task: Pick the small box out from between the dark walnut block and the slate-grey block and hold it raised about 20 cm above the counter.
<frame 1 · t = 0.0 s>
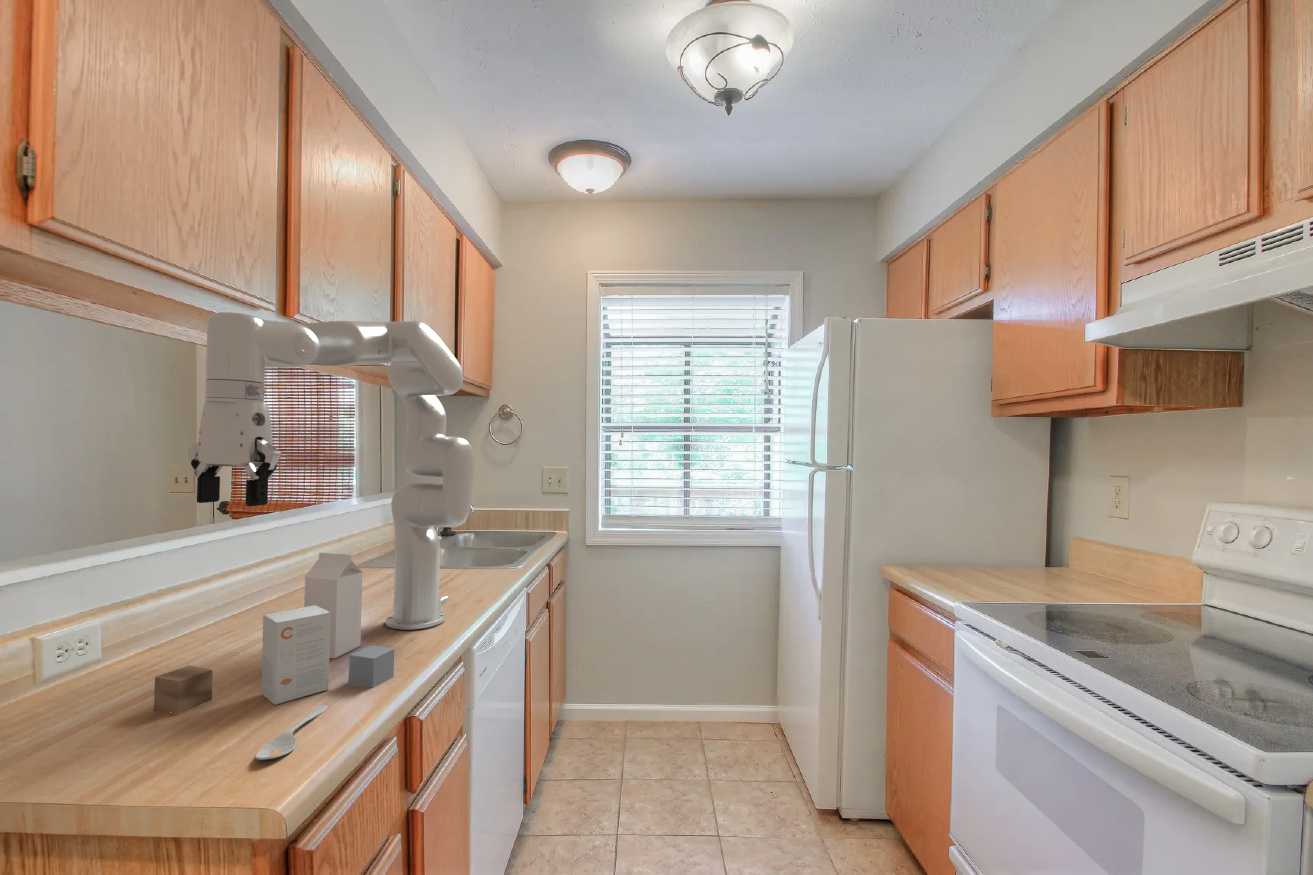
hand: (232, 503, 93), 31 cm above the worktop, tool pointing down, fingers open, 9 cm apart
walnut block: (183, 705, 92), on the worktop
milk carton: (332, 652, 116), on the worktop
slate block: (371, 680, 103), on the worktop
spoon: (301, 732, 86), on the worktop
small box: (295, 693, 98), on the worktop
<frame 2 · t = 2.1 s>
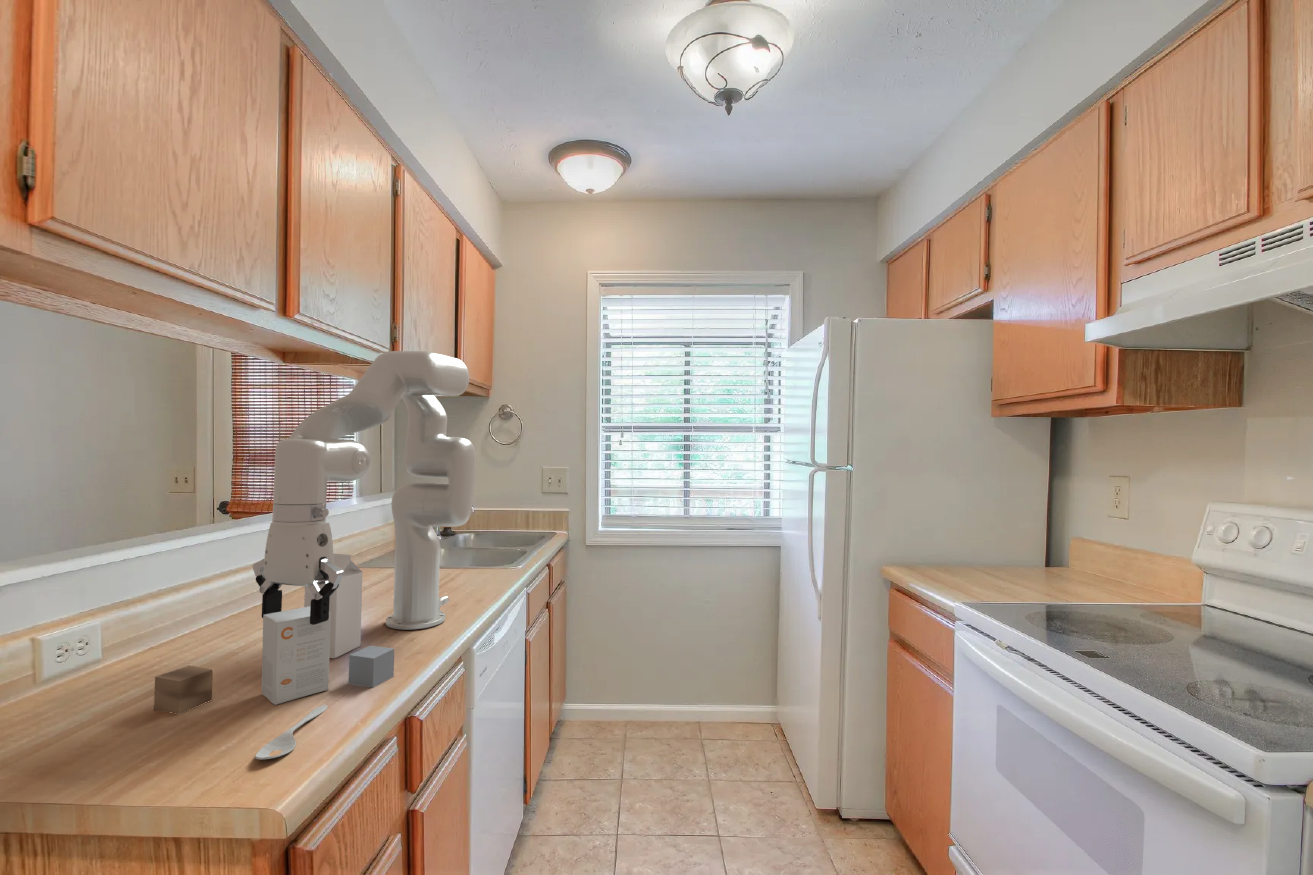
hand: (295, 619, 97), 12 cm above the worktop, tool pointing down, fingers open, 9 cm apart
nothing on the worktop moved.
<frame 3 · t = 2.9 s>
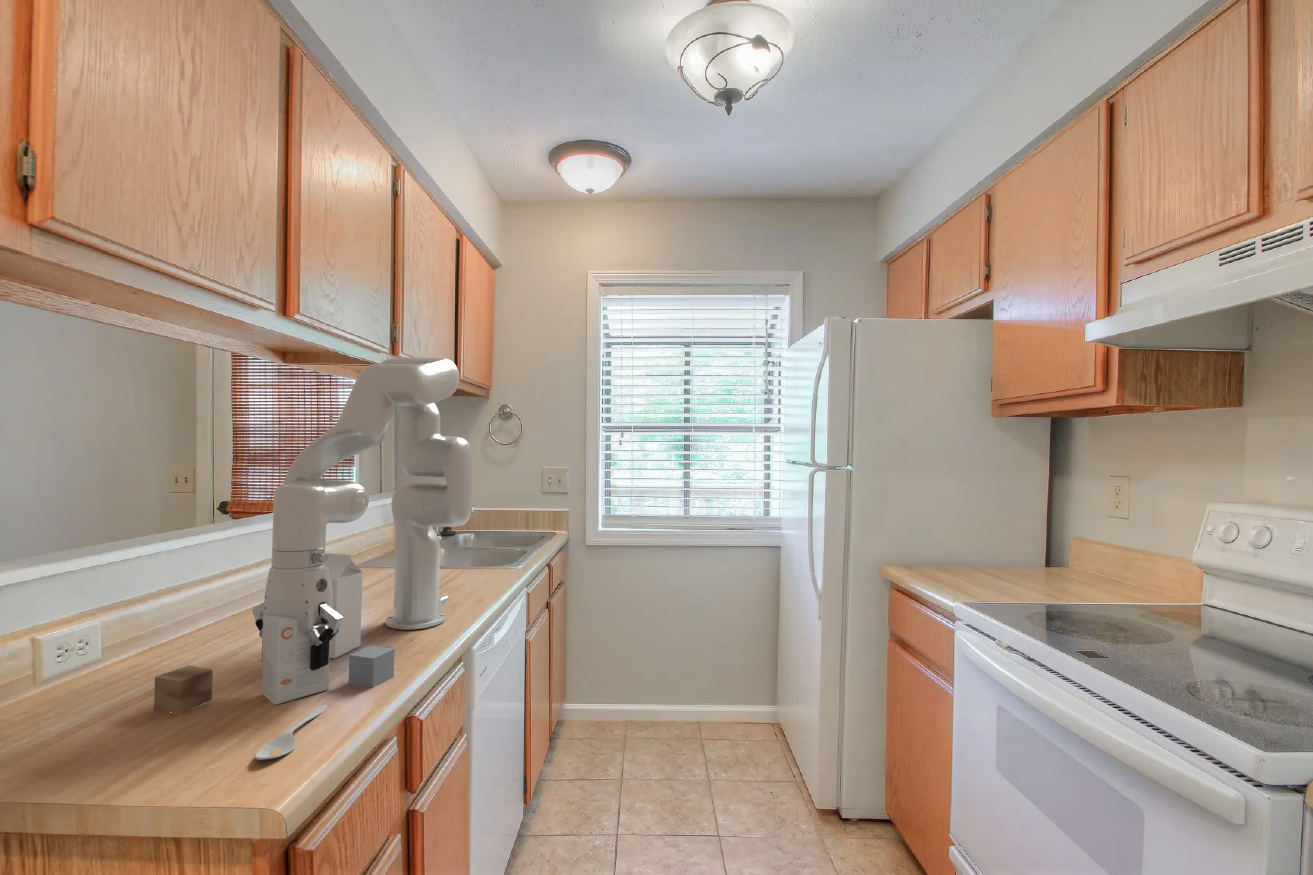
hand: (295, 663, 97), 5 cm above the worktop, tool pointing down, fingers open, 9 cm apart
nothing on the worktop moved.
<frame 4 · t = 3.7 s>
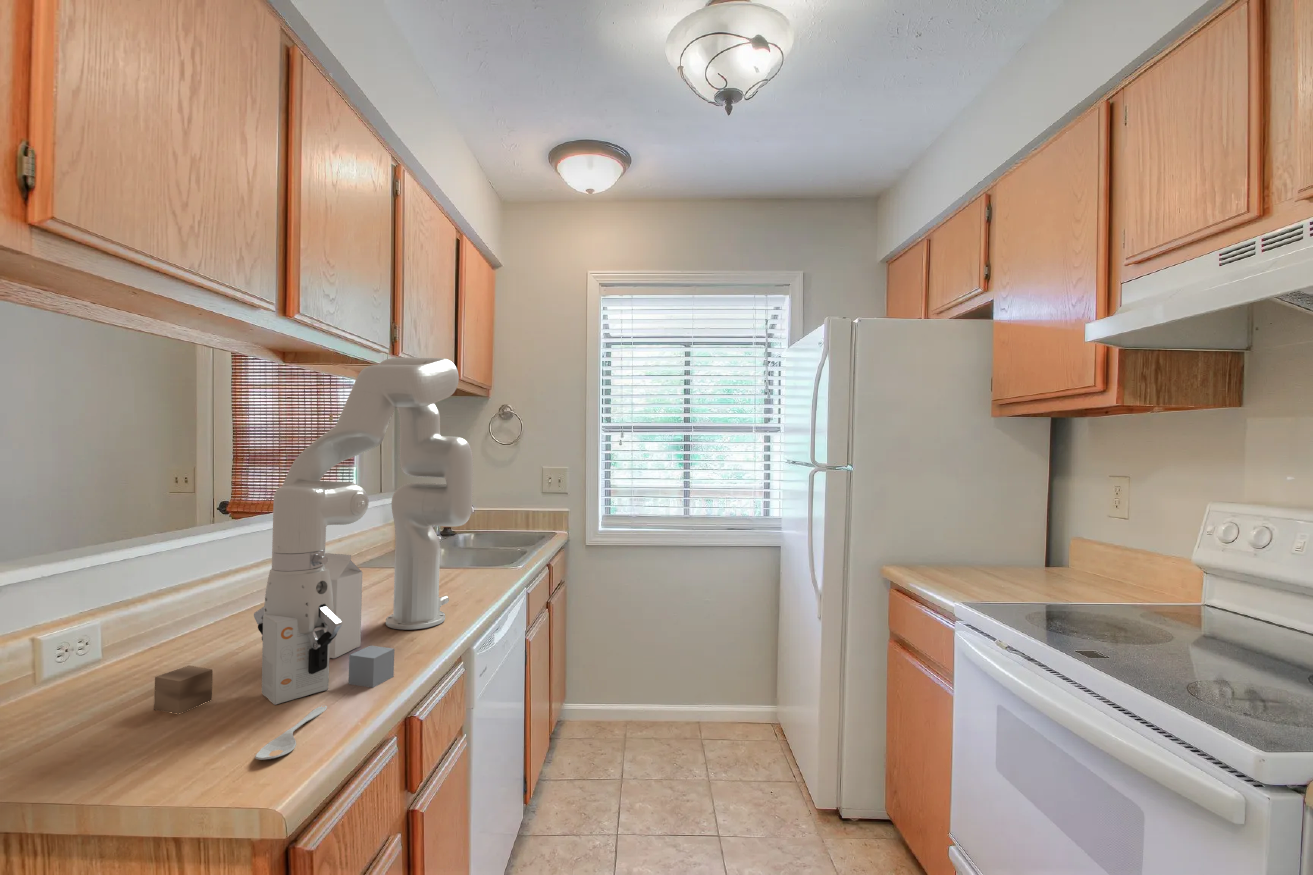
hand: (295, 667, 98), 4 cm above the worktop, tool pointing down, fingers closed on small box, 8 cm apart
small box: (295, 693, 98), on the worktop, touching gripper
everything else where it was.
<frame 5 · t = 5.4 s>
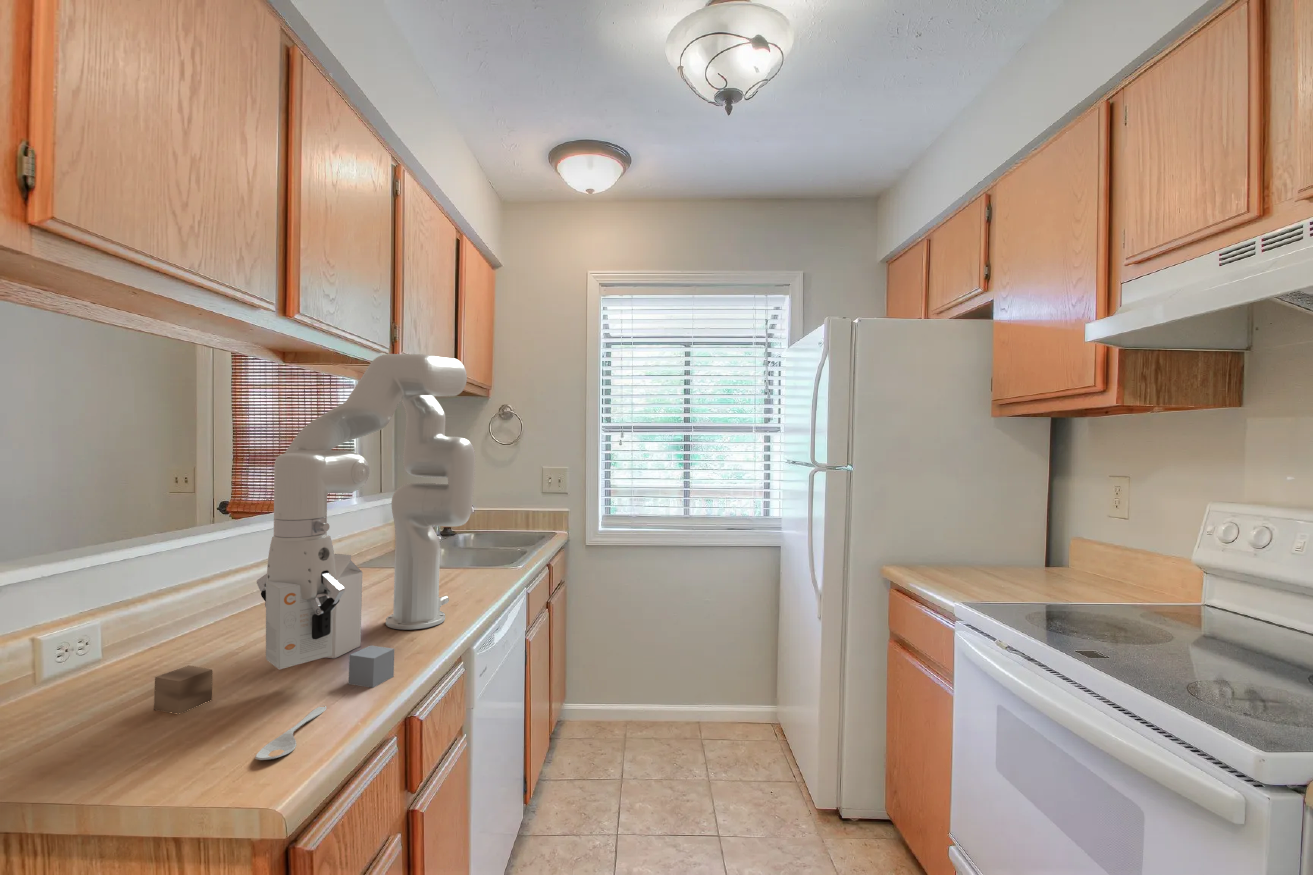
hand: (299, 633, 98), 9 cm above the worktop, tool pointing down, fingers closed on small box, 8 cm apart
small box: (298, 659, 98), point 5 cm above the worktop, touching gripper
everything else where it was.
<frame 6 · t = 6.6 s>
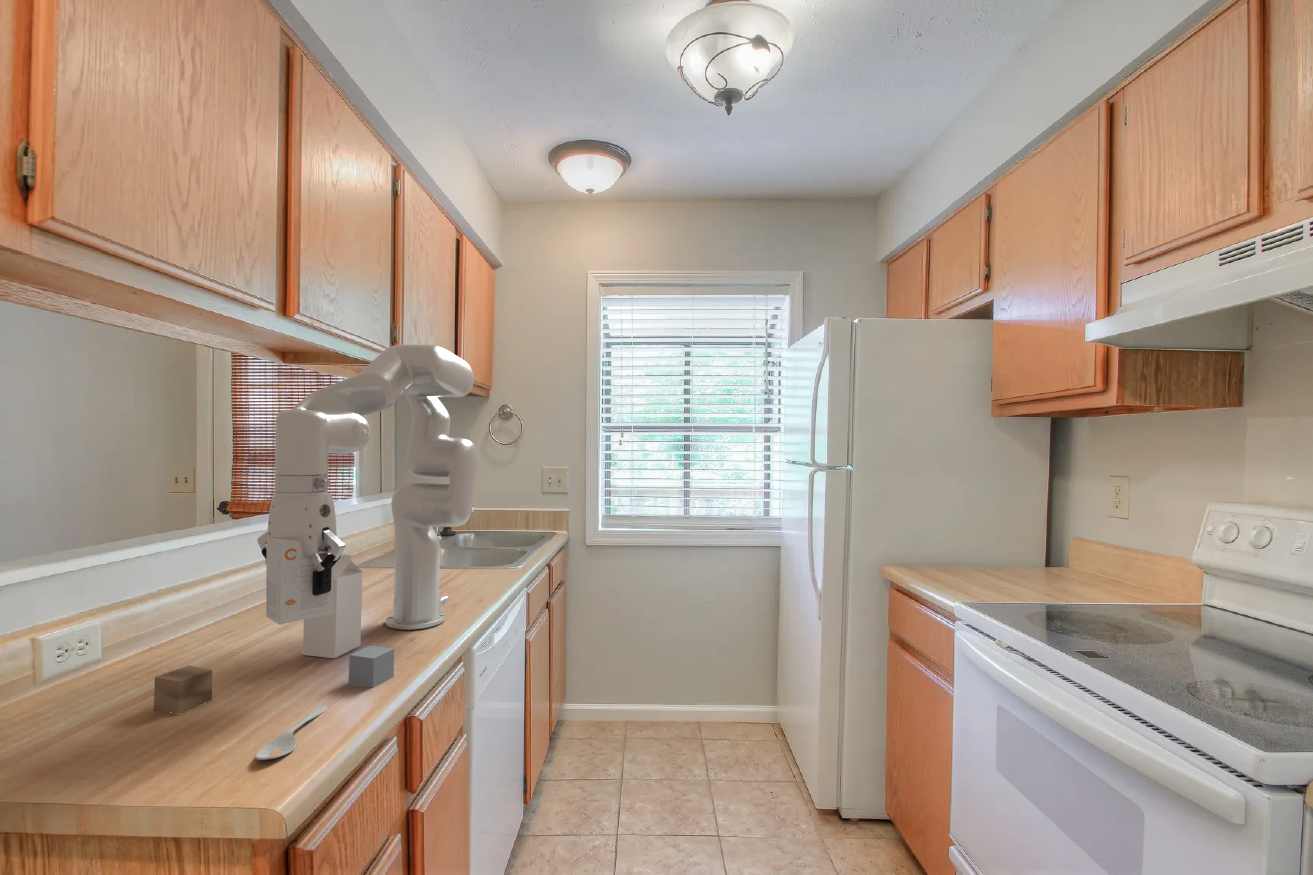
hand: (299, 590, 98), 17 cm above the worktop, tool pointing down, fingers closed on small box, 8 cm apart
small box: (299, 616, 98), point 12 cm above the worktop, touching gripper
everything else where it was.
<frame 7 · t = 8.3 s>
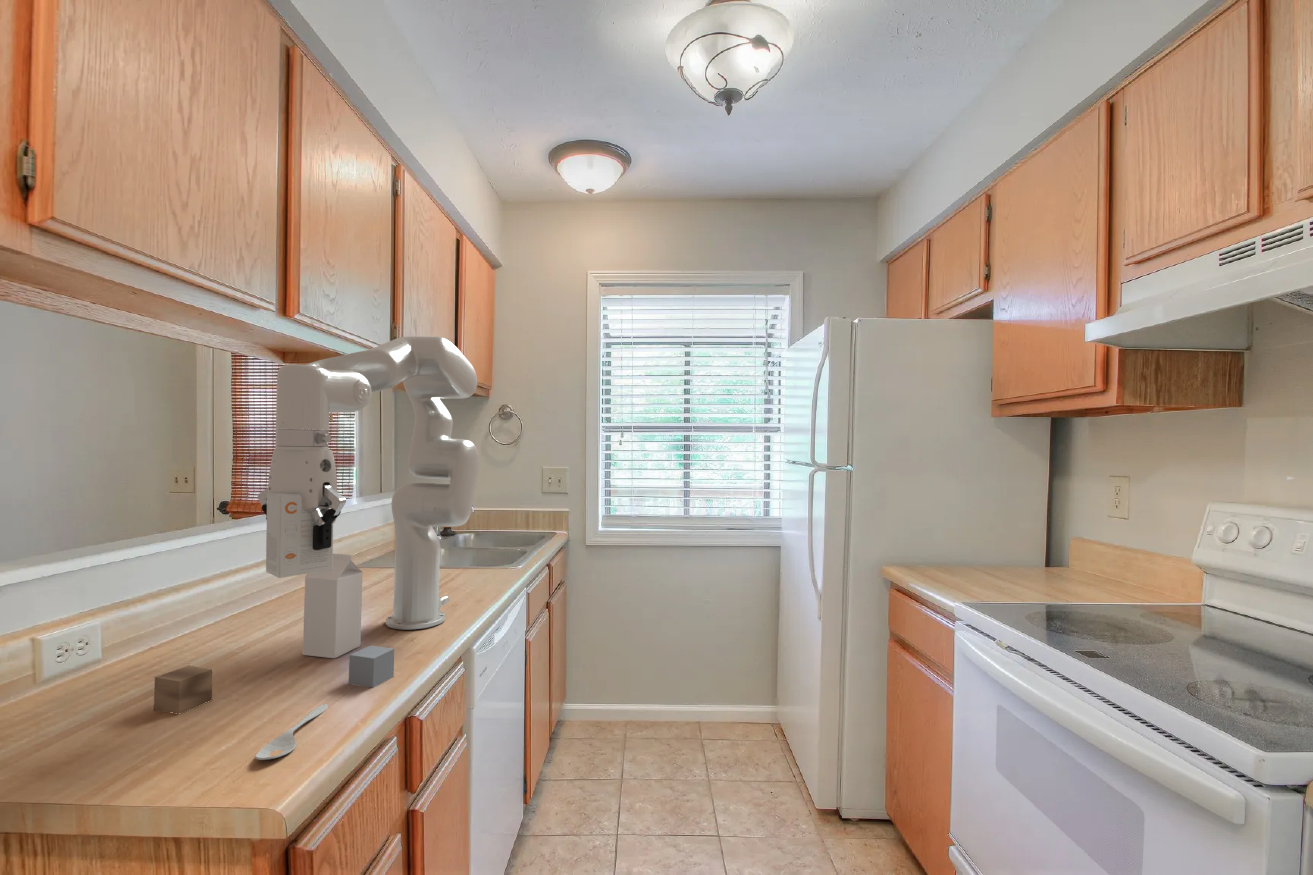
hand: (299, 546, 98), 24 cm above the worktop, tool pointing down, fingers closed on small box, 8 cm apart
small box: (299, 572, 98), point 20 cm above the worktop, touching gripper
everything else where it was.
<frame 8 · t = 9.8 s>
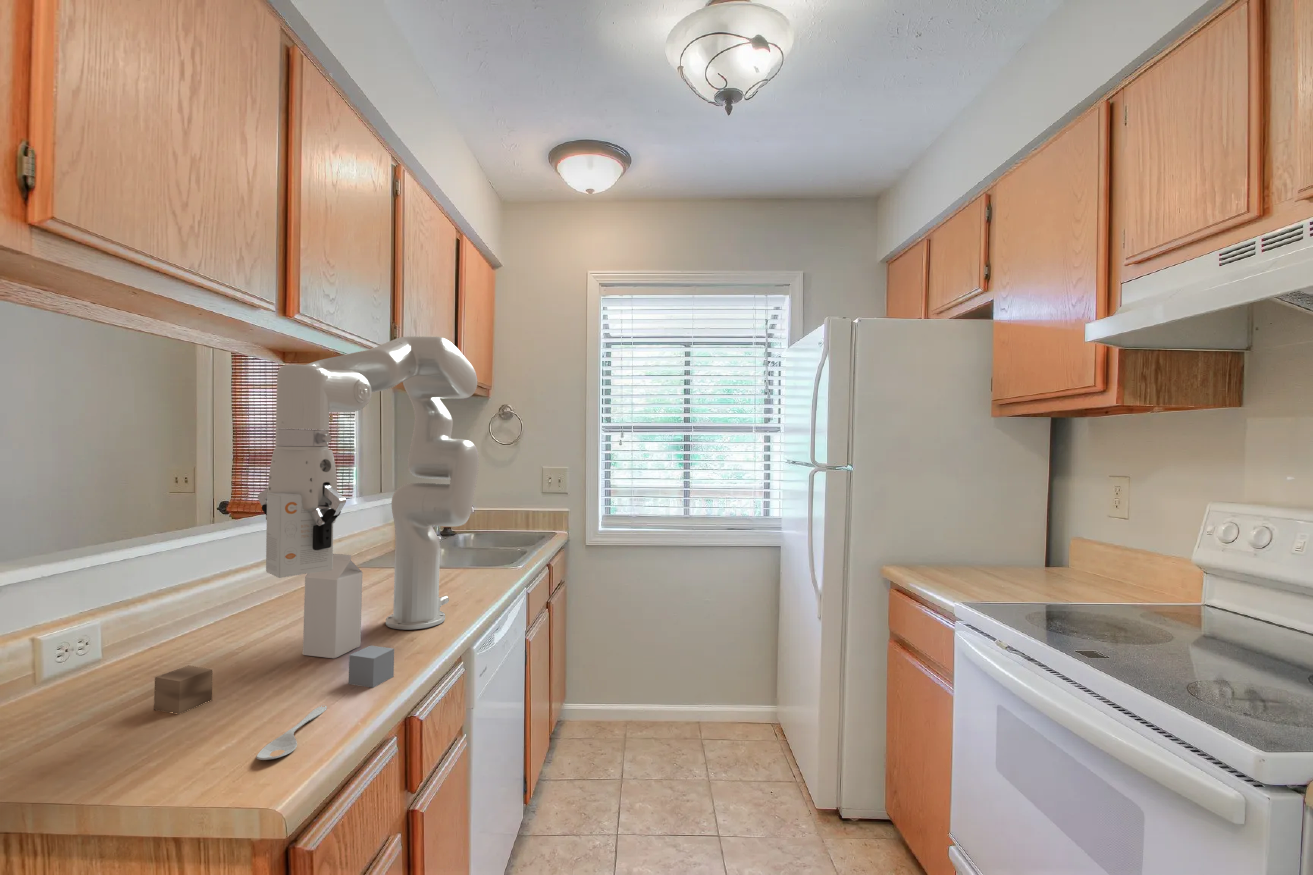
hand: (299, 546, 98), 24 cm above the worktop, tool pointing down, fingers closed on small box, 8 cm apart
small box: (299, 572, 98), point 20 cm above the worktop, touching gripper
everything else where it was.
at the end: the gripper is holding small box; small box point 19.5 cm above the worktop; walnut block moved 0.1 cm from its start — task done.
